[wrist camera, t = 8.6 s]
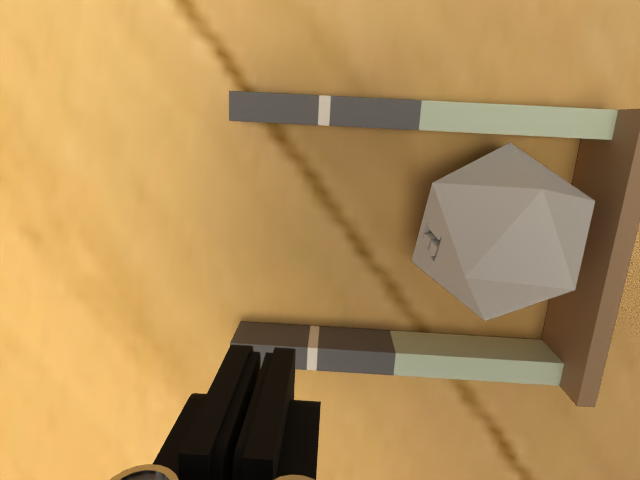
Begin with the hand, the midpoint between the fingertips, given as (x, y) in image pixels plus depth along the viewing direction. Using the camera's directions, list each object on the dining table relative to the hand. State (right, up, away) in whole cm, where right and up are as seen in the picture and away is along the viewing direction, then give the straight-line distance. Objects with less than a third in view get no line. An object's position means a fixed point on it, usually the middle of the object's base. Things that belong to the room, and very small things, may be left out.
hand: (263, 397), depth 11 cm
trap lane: (+7, +4, +16) cm, 18 cm away
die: (+11, +5, +16) cm, 20 cm away
